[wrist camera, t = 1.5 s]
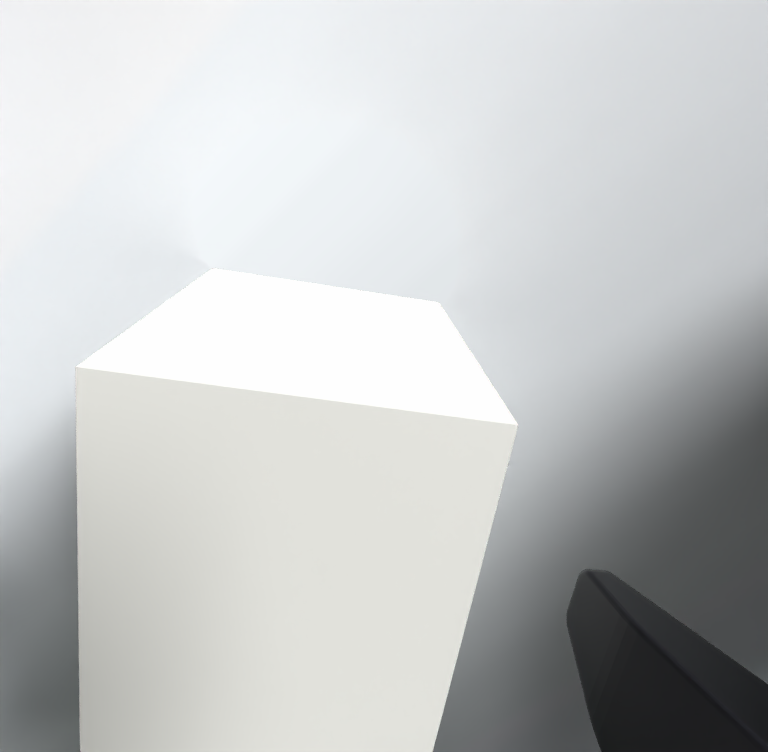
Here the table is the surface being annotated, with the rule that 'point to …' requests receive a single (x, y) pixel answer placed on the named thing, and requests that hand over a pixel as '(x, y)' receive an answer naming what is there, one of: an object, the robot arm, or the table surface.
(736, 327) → the table surface
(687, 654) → the robot arm
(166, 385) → the block
